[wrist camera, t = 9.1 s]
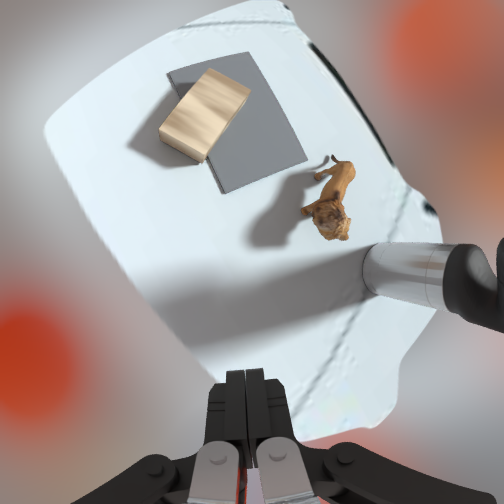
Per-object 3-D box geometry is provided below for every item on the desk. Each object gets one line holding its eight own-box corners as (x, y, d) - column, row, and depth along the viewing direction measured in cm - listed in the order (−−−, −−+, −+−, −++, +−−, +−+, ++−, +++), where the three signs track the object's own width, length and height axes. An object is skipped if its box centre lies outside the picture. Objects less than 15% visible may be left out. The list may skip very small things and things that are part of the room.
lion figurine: (322, 245, 41) (356, 246, 33) (292, 234, 40) (322, 232, 31) (342, 162, 42) (376, 147, 33) (316, 148, 41) (346, 129, 32)
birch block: (160, 140, 34) (206, 81, 35) (202, 163, 36) (244, 103, 37) (158, 129, 30) (209, 67, 31) (204, 154, 32) (251, 90, 33)
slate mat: (248, 52, 37) (248, 51, 37) (306, 160, 40) (308, 159, 40) (168, 73, 34) (169, 72, 34) (225, 194, 37) (225, 193, 37)
